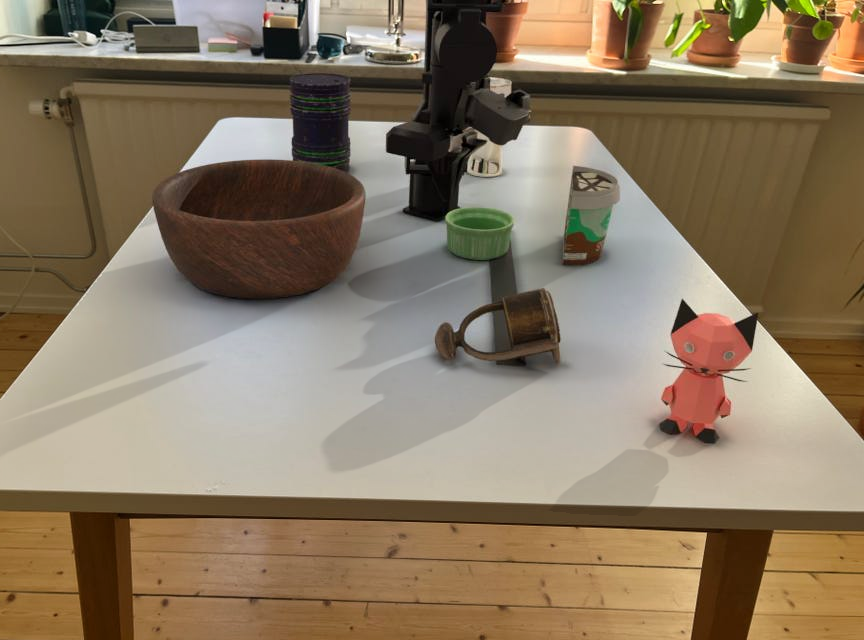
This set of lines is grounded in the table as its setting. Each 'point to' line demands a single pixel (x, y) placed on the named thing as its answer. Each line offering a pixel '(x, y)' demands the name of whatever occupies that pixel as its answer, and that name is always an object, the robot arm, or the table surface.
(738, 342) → the cat figurine
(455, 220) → the ramekin
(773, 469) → the table surface
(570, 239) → the food container
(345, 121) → the storage jar
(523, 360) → the dark grey flat bar
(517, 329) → the bronze metal cylindrical vessel
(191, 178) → the wooden bowl
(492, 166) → the beer glass
